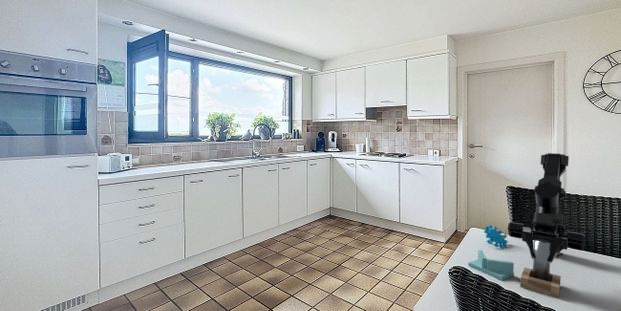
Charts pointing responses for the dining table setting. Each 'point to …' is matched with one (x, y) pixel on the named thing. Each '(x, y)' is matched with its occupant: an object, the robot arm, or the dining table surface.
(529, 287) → the block
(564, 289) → the dining table surface
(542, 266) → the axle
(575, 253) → the dining table surface
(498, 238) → the gear
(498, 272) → the v block
